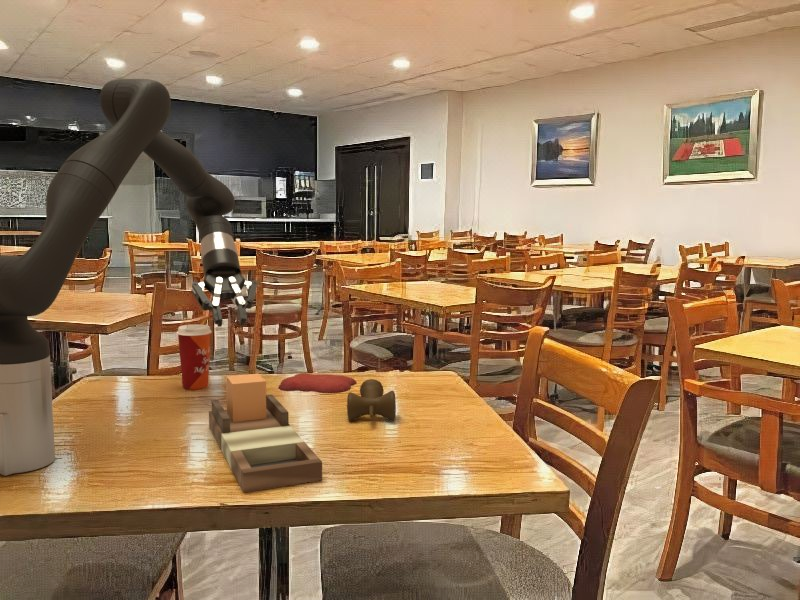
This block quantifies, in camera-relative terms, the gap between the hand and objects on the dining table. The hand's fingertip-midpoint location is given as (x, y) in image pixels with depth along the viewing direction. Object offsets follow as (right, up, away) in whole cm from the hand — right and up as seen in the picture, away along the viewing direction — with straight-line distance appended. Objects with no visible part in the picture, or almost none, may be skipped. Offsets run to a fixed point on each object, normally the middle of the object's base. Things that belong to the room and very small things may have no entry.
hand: (231, 323), depth 136 cm
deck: (+10, -21, -20) cm, 30 cm away
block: (+5, -17, -10) cm, 20 cm away
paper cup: (-13, -15, +20) cm, 29 cm away
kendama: (+28, -19, +3) cm, 34 cm away
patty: (+14, -16, +24) cm, 32 cm away
